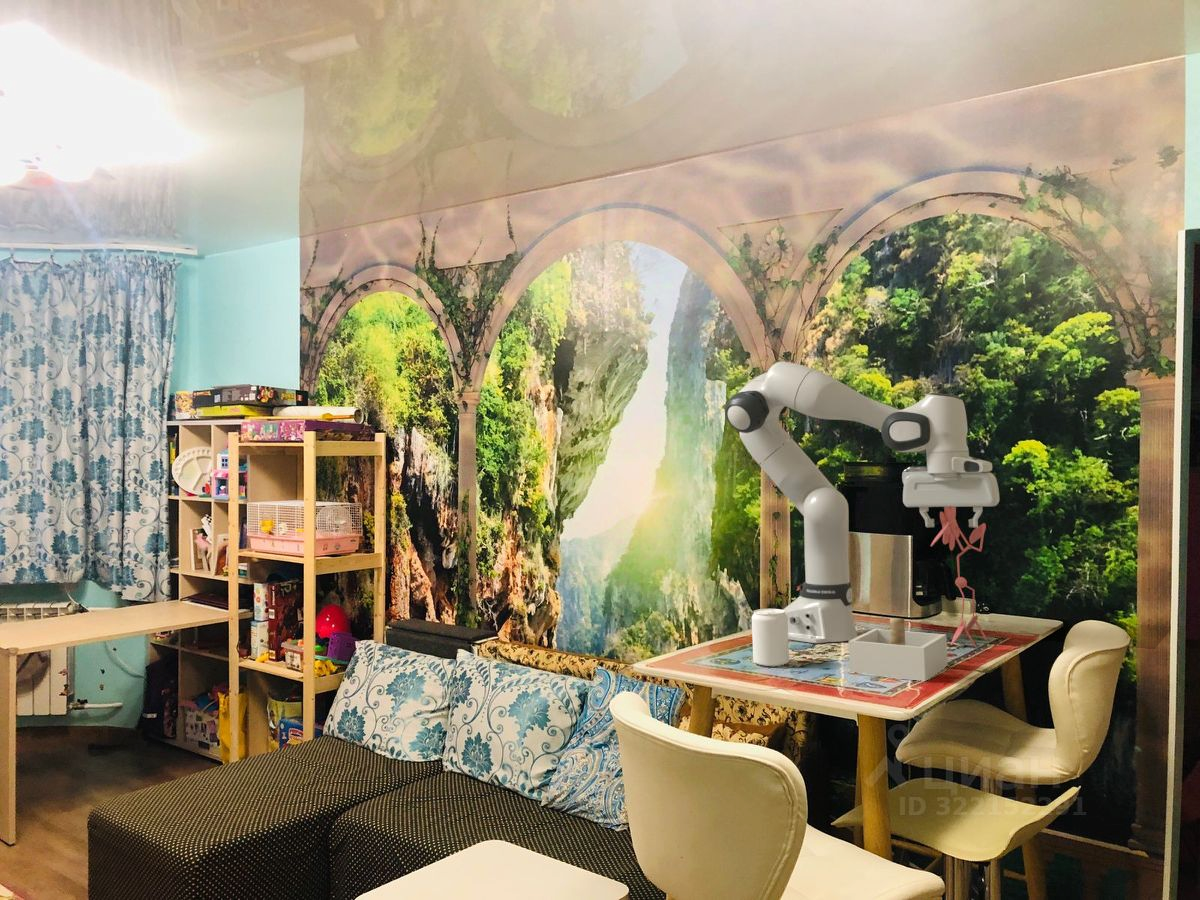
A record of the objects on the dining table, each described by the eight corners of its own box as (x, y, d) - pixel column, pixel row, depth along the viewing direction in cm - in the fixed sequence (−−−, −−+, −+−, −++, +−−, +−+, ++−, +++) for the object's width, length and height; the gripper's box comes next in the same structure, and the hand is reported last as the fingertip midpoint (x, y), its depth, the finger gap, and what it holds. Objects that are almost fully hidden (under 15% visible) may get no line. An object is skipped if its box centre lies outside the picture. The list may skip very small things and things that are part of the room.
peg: (889, 666, 197) (887, 619, 197) (894, 663, 199) (892, 617, 199) (903, 667, 195) (901, 621, 195) (907, 664, 197) (906, 618, 197)
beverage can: (746, 662, 210) (744, 610, 210) (776, 658, 213) (773, 607, 213) (766, 669, 202) (764, 615, 202) (796, 664, 205) (794, 611, 205)
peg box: (849, 673, 195) (848, 641, 195) (875, 659, 208) (874, 628, 208) (925, 682, 186) (923, 648, 186) (947, 666, 199) (946, 634, 199)
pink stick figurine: (1000, 634, 230) (991, 496, 231) (968, 654, 210) (958, 503, 211) (939, 630, 239) (930, 498, 240) (903, 648, 219) (893, 504, 220)
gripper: (896, 467, 205) (900, 528, 205) (991, 463, 193) (995, 528, 193) (906, 466, 210) (909, 525, 210) (999, 463, 198) (1003, 526, 198)
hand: (951, 527), depth 201 cm, fingers open, 8 cm apart
